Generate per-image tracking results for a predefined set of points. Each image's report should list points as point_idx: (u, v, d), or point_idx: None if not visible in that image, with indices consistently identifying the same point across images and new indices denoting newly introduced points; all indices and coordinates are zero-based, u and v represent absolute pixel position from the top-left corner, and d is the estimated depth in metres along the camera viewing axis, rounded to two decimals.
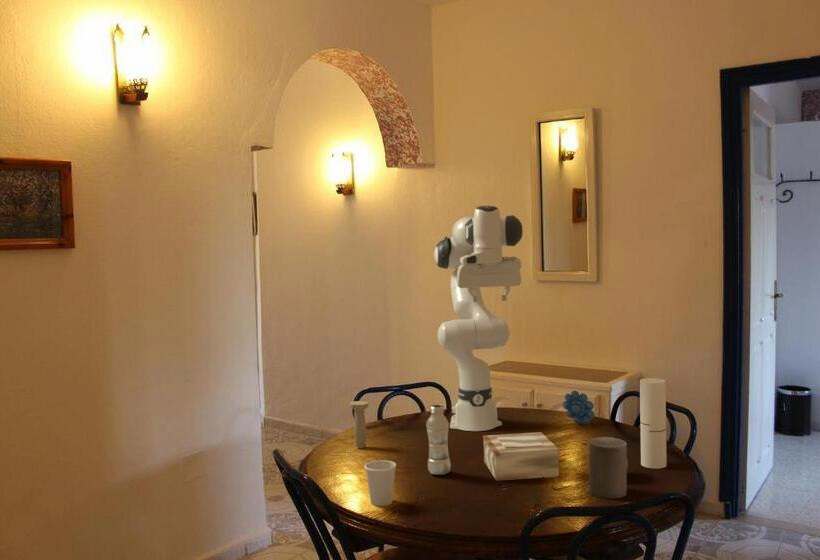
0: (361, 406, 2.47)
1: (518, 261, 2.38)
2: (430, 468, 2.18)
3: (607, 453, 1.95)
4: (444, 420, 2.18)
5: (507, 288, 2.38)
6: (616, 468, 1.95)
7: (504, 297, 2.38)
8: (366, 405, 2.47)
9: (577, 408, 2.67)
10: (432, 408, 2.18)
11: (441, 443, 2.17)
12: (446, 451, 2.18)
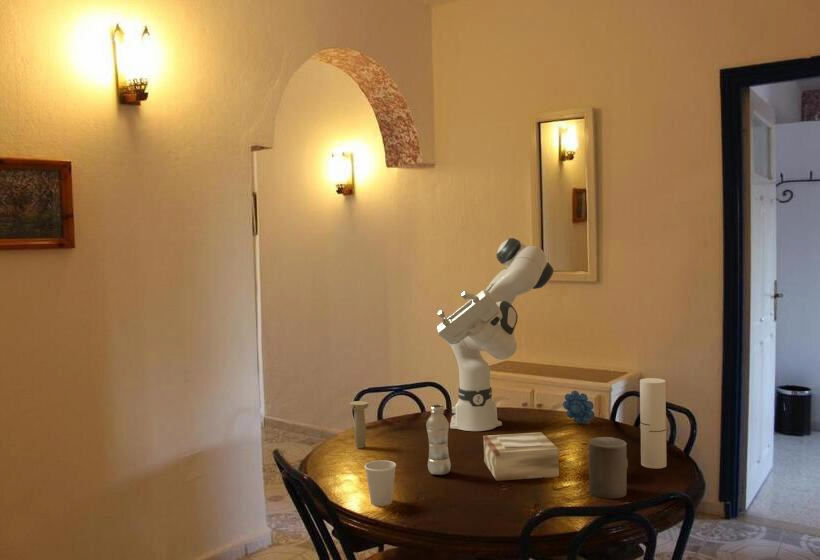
0: (361, 406, 2.46)
1: (452, 343, 2.37)
2: (430, 468, 2.18)
3: (607, 453, 1.95)
4: (444, 420, 2.18)
5: (445, 323, 2.31)
6: (616, 468, 1.95)
7: (442, 316, 2.29)
8: (366, 405, 2.47)
9: (577, 408, 2.67)
10: (432, 408, 2.18)
11: (441, 443, 2.17)
12: (446, 451, 2.18)
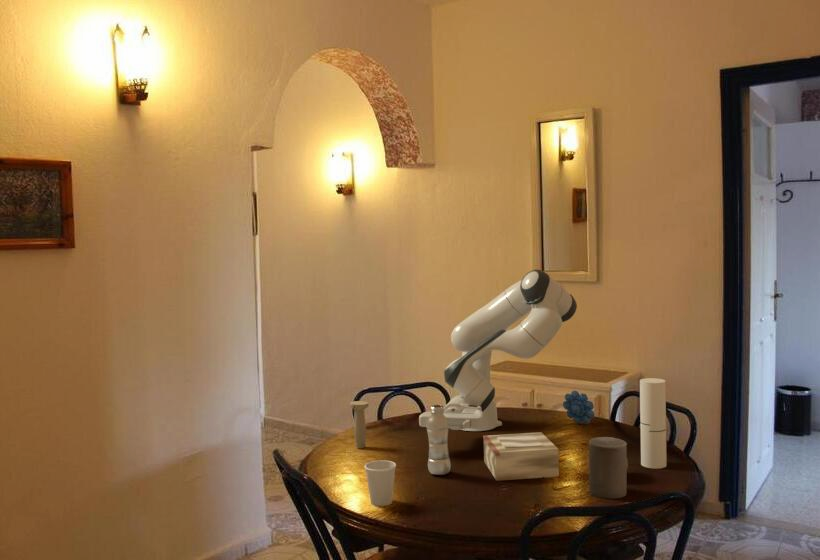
0: (361, 406, 2.47)
1: None
2: (430, 468, 2.18)
3: (607, 453, 1.95)
4: (444, 420, 2.18)
5: None
6: (616, 468, 1.95)
7: None
8: (366, 405, 2.47)
9: (577, 408, 2.67)
10: (432, 408, 2.18)
11: (441, 443, 2.17)
12: (446, 451, 2.18)
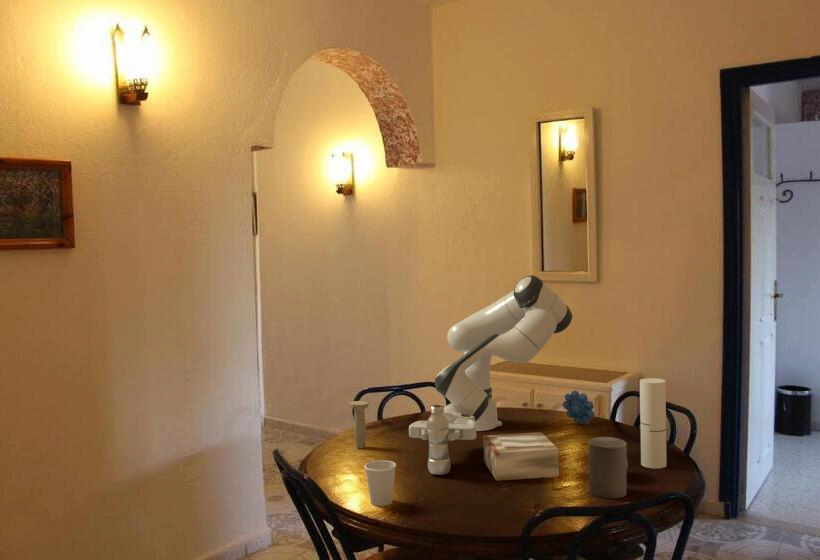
0: (361, 406, 2.47)
1: None
2: (430, 468, 2.18)
3: (607, 453, 1.95)
4: (444, 420, 2.18)
5: None
6: (616, 468, 1.95)
7: None
8: (366, 405, 2.47)
9: (577, 408, 2.67)
10: (432, 408, 2.18)
11: (441, 443, 2.17)
12: (446, 451, 2.18)
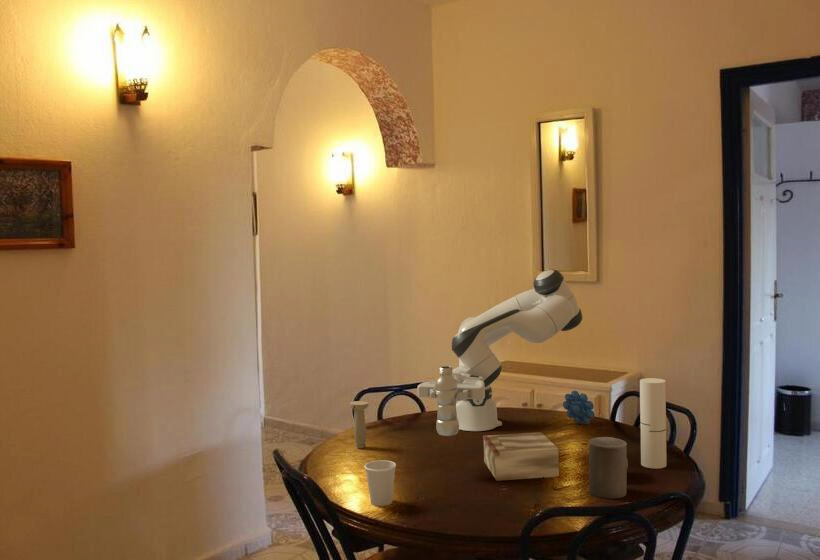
0: (361, 406, 2.47)
1: None
2: (438, 429, 2.19)
3: (607, 453, 1.95)
4: (453, 381, 2.18)
5: None
6: (616, 468, 1.95)
7: None
8: (366, 405, 2.47)
9: (577, 408, 2.67)
10: (441, 369, 2.18)
11: (449, 404, 2.17)
12: (454, 412, 2.18)
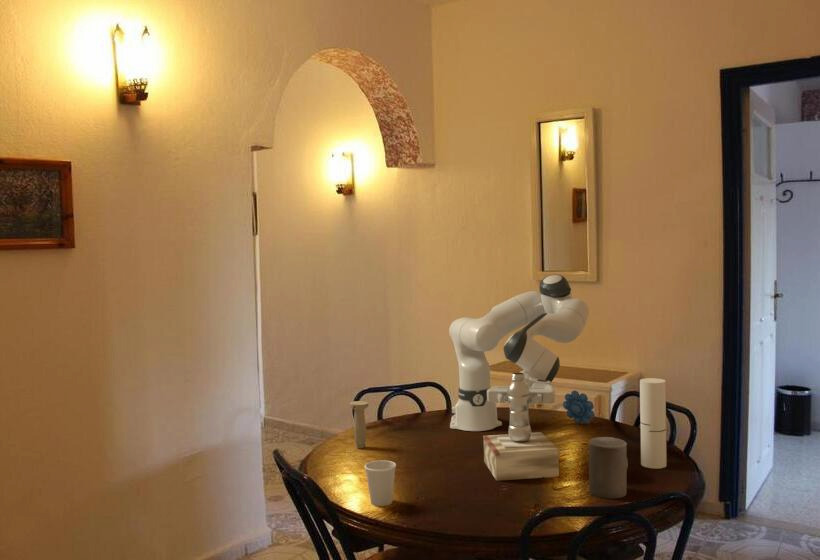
0: (361, 406, 2.47)
1: None
2: (511, 435, 2.20)
3: (607, 453, 1.95)
4: (525, 387, 2.19)
5: None
6: (616, 468, 1.95)
7: None
8: (366, 405, 2.47)
9: (577, 408, 2.67)
10: (513, 375, 2.20)
11: (523, 410, 2.19)
12: (527, 418, 2.20)
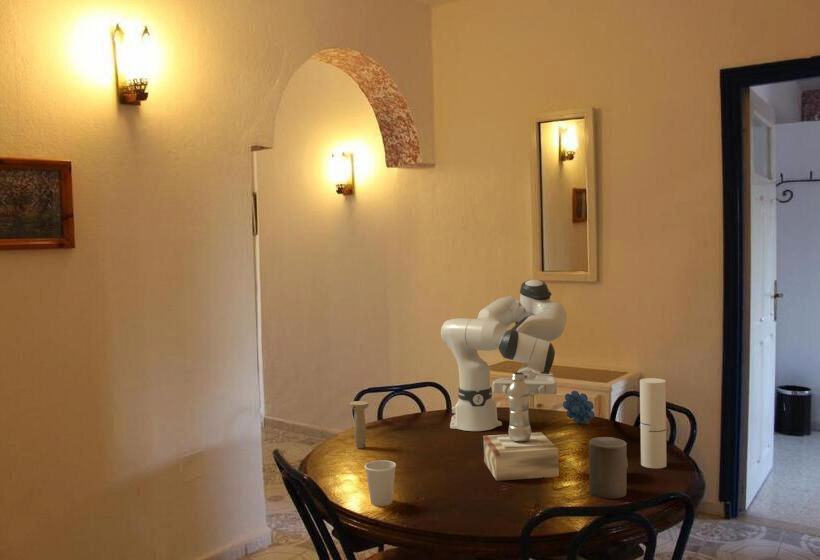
0: (361, 406, 2.47)
1: None
2: (511, 435, 2.20)
3: (607, 453, 1.95)
4: (525, 387, 2.20)
5: None
6: (616, 468, 1.95)
7: None
8: (366, 405, 2.47)
9: (577, 408, 2.67)
10: (513, 375, 2.20)
11: (523, 410, 2.19)
12: (527, 418, 2.20)
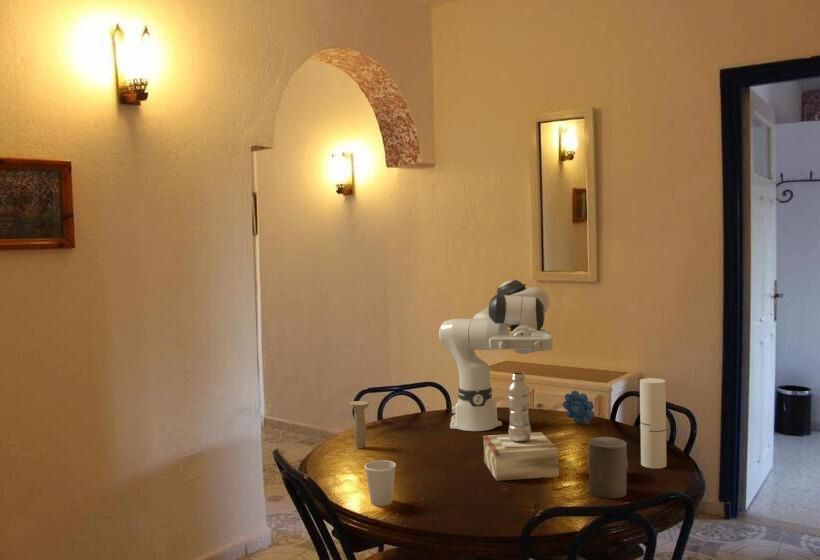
0: (361, 406, 2.47)
1: None
2: (511, 435, 2.20)
3: (607, 453, 1.95)
4: (525, 387, 2.20)
5: None
6: (616, 468, 1.95)
7: (503, 348, 2.37)
8: (366, 405, 2.47)
9: (577, 408, 2.67)
10: (513, 375, 2.20)
11: (523, 410, 2.19)
12: (527, 418, 2.20)
